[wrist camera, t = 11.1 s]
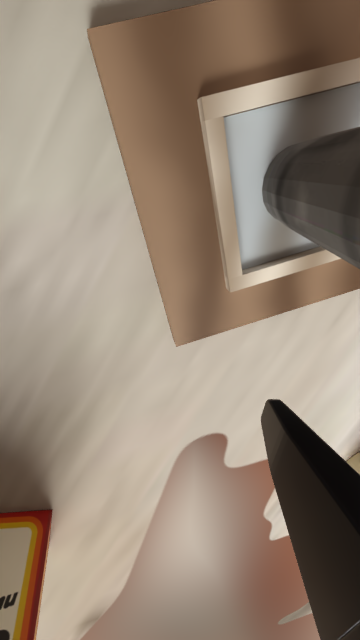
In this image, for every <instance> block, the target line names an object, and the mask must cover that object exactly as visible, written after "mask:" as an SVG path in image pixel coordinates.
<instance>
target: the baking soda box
mask: <svg viewBox="0 0 360 640" xmlns="http://www.w3.org/2000/svg"><path fill="white" fill-rule="evenodd" d="M51 519H52V510H39V511H25V512H12V513H0V640H36V634H37V626H38V619H39V612H40V605H41V598H42V591H43V584H44V576H45V569H46V562H47V555H48V548H49V539H50V529H51Z"/></svg>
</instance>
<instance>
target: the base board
mask: <svg viewBox="0 0 360 640" xmlns="http://www.w3.org/2000/svg"><path fill="white" fill-rule="evenodd" d="M87 32H88V39H89V42H90V46H91V49H92V53H93V57H94V60H95V64H96V67H97V71H98V74H99V78H100V81H101V85H102V88H103V92H104V95H105V99H106V102H107V106H108V110H109V113H110V117H111V120H112V124H113V127H114V131H115V134H116V138H117V141H118V145H119V148H120V152H121V156H122V159H123V163H124V166H125V170H126V173H127V177H128V180H129V184H130V187H131V191H132V194H133V198H134V201H135V205H136V209H137V212H138V216H139V219H140V223H141V226H142V230H143V233H144V237H145V240H146V244H147V247H148V251H149V254H150V258H151V262H152V265H153V269H154V272H155V276H156V279H157V283H158V286H159V290H160V293H161V297H162V300H163V304H164V307H165V311H166V315H167V318H168V322H169V325H170V329H171V332H172V336H173V339H174V342H175V344H176V347H177V346H180V345H184V344H187V343H190V342H193V341H196V340H199V339H202V338H206V337H209V336H212V335H215V334H218V333H221V332H224V331H228V330H231V329H234V328H237V327H240V326H243V325H246V324H250V323H253V322H256V321H259V320H262V319H265V318H268V317H272V316H275V315H278V314H281V313H284V312H287V311H290V310H294V309H297V308H300V307H303V306H306V305H309V304H312V303H316V302H319V301H322V300H325V299H328V298H331V297H334V296H338V295H341V294H344V293H347V292H350V291H353V290H356V289H360V269H358V268H357V267H355V266H353V265H352V264H350V263H348V262H346V261H345V260H343V259H341V258H340V257H338V256H336V255H334V254H333V253H331V252H329V251H327V250H326V249H324V248H322V247H321V246H319V245H317V244H315V243H314V242H312V241H310V240H308V239H307V238H305V237H303V236H302V235H300V234H298V233H296V232H295V231H293V230H291V229H290V228H288V227H286V226H285V225H284V224H283V223H282V222H280V221H279V220H277V219H275V218H274V217H273V216H272V215H271V214H270V213H269V212H268V211H267V209H266V207H265V205H264V202H263V196H262V186H263V180H264V176H265V174H266V171H267V169H268V167H269V165H270V163H271V162H272V161H273V159H274V158H275V157H276V156H277V154H279V153H280V152H281V151H283V150H284V149H285V148H287V147H288V146H291V145H294V144H298V143H301V142H304V141H307V140H310V139H313V138H316V137H320V136H324V135H328V134H332V133H336V132H340V131H344V130H348V129H352V128H356V127H360V0H215V1H211V2H206V3H202V4H197V5H193V6H188V7H184V8H179V9H175V10H170V11H166V12H161V13H157V14H152V15H148V16H143V17H139V18H134V19H130V20H125V21H121V22H116V23H112V24H107V25H103V26H98V27H94V28H89V29H87Z"/></svg>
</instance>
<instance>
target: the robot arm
mask: <svg viewBox="0 0 360 640" xmlns="http://www.w3.org/2000/svg"><path fill="white" fill-rule="evenodd" d="M261 425H262V430H263V436H264V441H265V446H266V452H267V457H268V461H269V467H270V471H271V475H272V479H273V482H274V485H275V489H276V492H277V495H278V499H279V502H280V505H281V509H282V512H283V516H284V519H285V522H286V526H287V529H288V532H289V536H290V539H291V542H292V546H293V549H294V552H295V556H296V559H297V562H298V566H299V569H300V572H301V576H302V579H303V582H304V586H305V589H306V593H307V596H308V599H309V603H310V606H311V609H312V613H313V616H314V619H315V622H316V626H317V629H318V633H319V636H320V639H321V640H360V474H359V473H357V472H356V471H355V470H354V469H353V468H352V467H351V466H350V465H349V464H348V463H347V462H346V461H345V460H344V459H343V458H342V457H341V456H339V455H338V454H337V453H336V452H335V451H334V450H333V449H332V448H331V447H330V446H329V445H328V444H327V443H326V442H325V441H324V440H322V439H321V438H320V437H319V436H318V435H317V434H316V433H315V432H314V431H313V430H312V429H311V428H310V427H309V426H308V425H307V424H306V423H304V422H303V421H302V420H301V419H300V418H299V417H298V416H297V415H296V414H295V413H294V412H293V411H292V410H291V409H290V408H289V407H287V406H286V405H285V404H284V403H283V402H282V401H281V400H278V399H269V400H267V401H266V403H265V407H264V410H263V413H262V416H261Z"/></svg>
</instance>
